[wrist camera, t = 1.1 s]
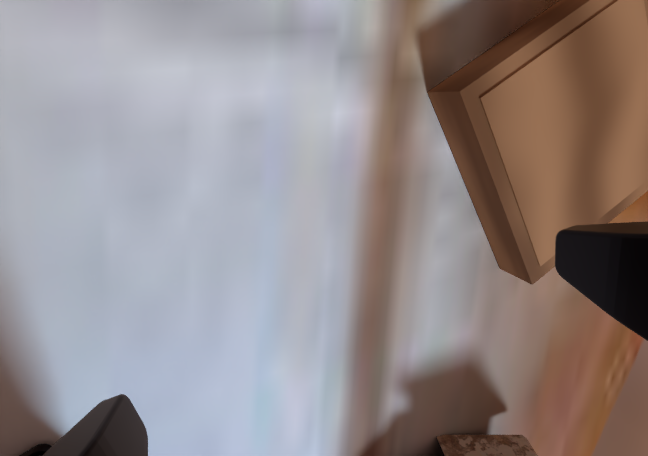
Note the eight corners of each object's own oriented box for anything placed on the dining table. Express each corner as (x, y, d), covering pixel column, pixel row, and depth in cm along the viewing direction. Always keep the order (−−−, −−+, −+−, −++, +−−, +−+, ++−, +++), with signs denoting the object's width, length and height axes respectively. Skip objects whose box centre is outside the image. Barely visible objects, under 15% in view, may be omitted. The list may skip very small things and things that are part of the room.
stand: (500, 268, 26) (533, 285, 24) (427, 92, 21) (461, 91, 19) (636, 160, 28) (679, 166, 26) (599, -28, 23) (650, -42, 20)
